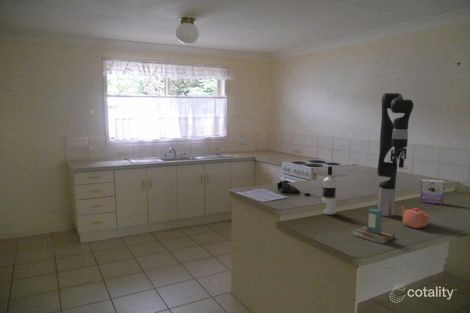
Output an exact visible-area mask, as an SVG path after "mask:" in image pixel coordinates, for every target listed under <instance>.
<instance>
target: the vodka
mask: <svg viewBox="0 0 470 313" xmlns="http://www.w3.org/2000/svg"><path fill="white" fill-rule="evenodd" d="M336 189H337V180H336V179H335V178H334V177H333V166H328V167H327V176H326V177H324V178H323V179H322V193H321V194H322V196H321V202H322V201H323V202H324V203H326V204H327V205H326V208H325V210H324V211H323V213H322V214H323V215H330V216H333V215H335V214H336V212H337V209H336V199H337V198H336V191H337V190H336Z"/></svg>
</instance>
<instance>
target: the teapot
mask: <svg viewBox="0 0 470 313" xmlns="http://www.w3.org/2000/svg"><path fill="white" fill-rule="evenodd" d="M400 208H402V225H404V226H407V227H410V228H413V229H421V228H426V227H427V226H428V225H429V220H430V219H431V215H430V214H428V212H427V210H423V209H419V208H418V207H414V208H408V209H406V208H405V206H402V205H400Z"/></svg>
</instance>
